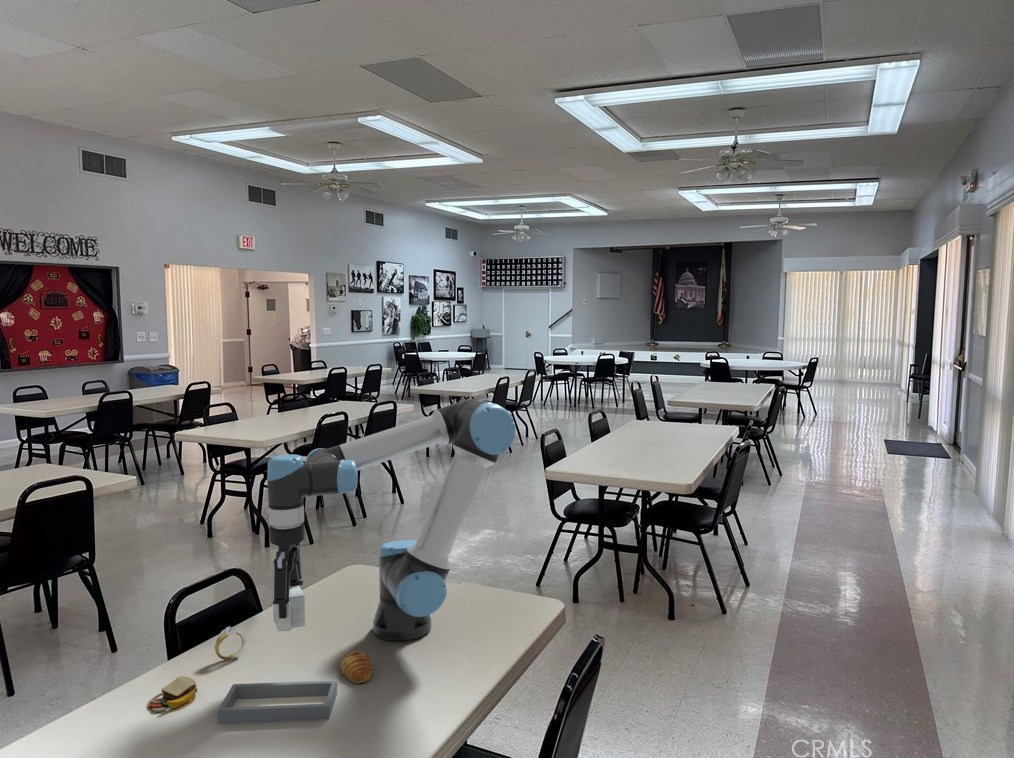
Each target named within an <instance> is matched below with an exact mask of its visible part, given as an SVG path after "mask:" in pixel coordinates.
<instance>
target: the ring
mask: <svg viewBox="0 0 1014 758" xmlns="http://www.w3.org/2000/svg"><path fill="white" fill-rule="evenodd" d="M236 628H237V626H234V627H231V626H230V625H229V626H227V627H225V629H223V630H221V631H220V633H219V634H218V635H217V638H216V639H215V642H214V651H215V653H216V655H217V657H218V658H220V659H221V660H225V661H226V660H227V661H228V660H229V661H231V660H233V659H235V658H237V657H239V656H240V655H241V654H242V653H243V651H244V650H245V647H246V643H247V640H246V637H245V635H244V633H243V631H241V630H239V629H236ZM233 634H236V635H238V636H239V637H240V638H241V645H240V648H239V649H238V650H237V652H235V653H234V654H228V655H223V654H222V653H220V651H219V650H220V649H219V648H220V645H221V643H222V642H223V641H224V640H225V639H226V638H228V637H229V636H230V635H233Z"/></svg>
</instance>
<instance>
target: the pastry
mask: <svg viewBox="0 0 1014 758" xmlns="http://www.w3.org/2000/svg"><path fill="white" fill-rule="evenodd" d="M340 669H341V672H342V674H343V676H345V677H346V679H347V680H348V681H350V683H354V684H360V683H361V684H362V683H365V682H369V681H370V679H371V677H372V673H373V664H372V661H371V658H370V657H369V656H368V655H367V654H364V652H362V651H360V650H356V651H354V650H353V651H352V652H350V653H347V654H346V655H345V656H344V657H343V659H342V660H341V666H340Z"/></svg>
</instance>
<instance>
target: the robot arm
mask: <svg viewBox="0 0 1014 758" xmlns="http://www.w3.org/2000/svg"><path fill="white" fill-rule="evenodd" d="M515 436H516V424H515V421H514V418H513V416H512V414H511V413H510V411H508V410H507V409H506V408H504V407H503V406H501V405H499V404H497V403H493V402H490V401H486V400H483V399H480V398H468V399H464V400H460V401H457V402H454V403H452V404H449V405H446V406H444V407H440V408H438V409H435V410H433V412H432V414H431V415H428V416H425V417H422V418H419V419H416V420H413V421H410V422H406V423H403V424H400V425H397V426H394V427H391V428H388V429H385V430H381V431H379V432H375V433H372V434H369V435H366V436H363V437H360V438H357V439H355V440H351V441H347V442H345V443H341V444H339V445H336V446H332V447H329V448H324V447H323V448H322V447H320V448H315V449H312V450H311V451H310V452H309V453H308V454H307V456H306V458H305V462H304V461H303V457H302V456H301V455H299V454H293V453H292V454H290V453H288V454H287V453H286V454H278V455H275V456H272V457H271V458H270V459H269V460H268V462H267V476H266V478H267V479H266V480H267V498H268V503H267V504H268V509H266V514H267V515H268V523H269V527H268V533H269V534H268V536H269V537H268V541H269V543H270V544H271V545H272V546H273V545H274V546H277V548H278V549H277V551H276V554H275V558H274V559H273V568H274V573H273V574H274V577H273V579H274V580H273V581H274V583H273V585H274V589H273V590H274V601H273V600H272V604H277V619H278V630H277V632H291V630H292V628H291V607H290V601H289V591H290V587H296V586H303V585H304V580H302V579H303V578H302V577H303V576H302V565H301V553H300V552H301V551H300V550H301V549H300V546H301V545H300V544H301V543H302V542H303V541H304V540H305V525H304V523H305V507H304V498H305V497H315V496H328V495H343V494H347V493H352V492H355V491H356V490H357V487H358V481H359V480H358V478H359V476H358V472H359V471H360V470H361V471H362V470H363V469H367V468H370V467H372V466H376V465H378V464H381V463H385V462H388V461H390V460H393V459H396V458H400V457H403V456H405V455H408V454H411V453H414V452H417V451H420V450H423V449H426V448H429V447H433V446H435V445H438V444H443V445H445V446H447V445H450V444H452V449H453V451H454V455H453V458H452V460H451V463H450V465H449V468H448V469H447V472H446V474H445V477H444V479H443V481H442V483H441V485H440V488H439V490H438V493H437V494H436V497H435V500H434V502H433V504H432V506H431V509H430V511H429V513H428V515H427V518H426V520H425V523H424V524H423V527H422V529H421V532H420V534H419V535H418V538H417V540H416V539H415V540H414V539H401V540H394V541H388V542H386V543H383V544H381V546H380V548H379V551H378V554H379V555H378V563H379V564H378V565H379V566H378V570H379V572H378V574H379V580H378V581H379V602H378V605H377V609H376V612H375V615H374V618H373V621H372V622H373V623H372V628H373V629H372V631H373V634H374V635H376V636H377V637H378V638H381V639H383V640H387V641H394V642H395V641H396V642H399V641H400V642H402V641H403V642H404V641H409V640H414V639H418V638H421V637H423V636H425V635H426V634H428V633H429V632H430V630H432V629H431V628H432V617H431V614H433V613H435V612H436V611H439V609H440V608H441V607H442V605H443V604H444V602H445V601H446V598H447V591H448V590H447V589H448V587H447V584H446V579H447V577H448V575H449V572H450V571H451V568H452V566H451V564H450V560H449V556H450V554H451V552H452V550H453V547H454V545H455V543H456V541H457V538H458V535H459V533H460V531H461V528H462V526H463V524H464V522H465V519H466V517H467V514H468V513H469V510H470V509H471V505H472V503H473V501H474V499H475V497H476V494H477V491H478V489H479V487H480V485H481V482H482V479H483V477H484V475H485V473H486V470H487V469H488V467H491V466H494V465H496V463H497V460H498V458H499V456H500V455H501V453H503V452H505V451H507V450H508V449H509V448H510V446H512V444H513V442H514V440H515Z"/></svg>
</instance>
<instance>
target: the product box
mask: <svg viewBox="0 0 1014 758" xmlns="http://www.w3.org/2000/svg"><path fill="white" fill-rule="evenodd" d="M305 597H306V596H305V594H304V592H303V590H302V589H301V587H300V585H298V586H296V587H290V591H289V601H290V607H291V629H296V628H301V627H305V625H306V620H305V618H306V613H305V611H306V609H305V608H306V607H305V603H306V601H305V600H306V599H305ZM272 599H273V600H272V602H273V601H274V589H273V590H272ZM272 604H273V603H272ZM272 608H273V611H272V613H273V622H274V624H275V626H276V629H277V630H276V631H278V619H277V604H273V607H272Z"/></svg>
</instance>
